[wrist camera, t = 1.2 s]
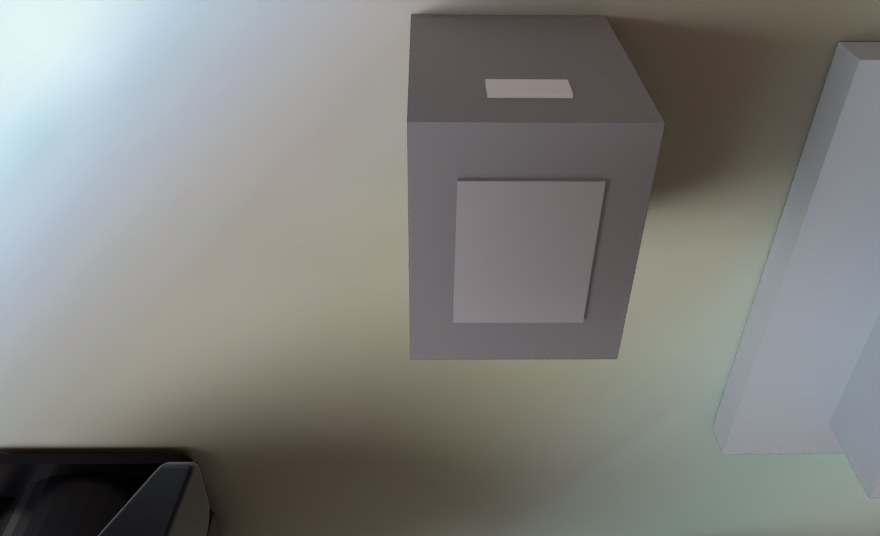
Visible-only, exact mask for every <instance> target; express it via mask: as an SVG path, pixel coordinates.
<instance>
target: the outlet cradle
mask: <svg viewBox="0 0 880 536" xmlns="http://www.w3.org/2000/svg"><path fill="white" fill-rule="evenodd" d="M712 429H713V431H714V434H715V437H716V439H717V442H718V444H719V447H720V449H721V452H722V454H835V453H845V455H846V457H847V459H848V461H849V463H850V464H851V466H852V468H853V470H854V472H855V473H856V475H857V477H858V479H859V481H860V483H861V484H862V486H863V488H864V490H865V492H866V493H867V495H868V497H869V498H880V42H838V45H837V48H836V51H835V54H834V57H833V60H832V63H831V66H830V69H829V72H828V75H827V78H826V81H825V84H824V87H823V90H822V94H821V97H820V100H819V103H818V106H817V109H816V112H815V115H814V118H813V121H812V124H811V127H810V130H809V133H808V136H807V139H806V143H805V146H804V149H803V152H802V155H801V158H800V161H799V164H798V167H797V170H796V173H795V176H794V179H793V182H792V185H791V188H790V191H789V195H788V198H787V201H786V204H785V207H784V210H783V213H782V216H781V219H780V222H779V225H778V228H777V231H776V234H775V237H774V240H773V244H772V247H771V250H770V253H769V256H768V259H767V262H766V265H765V268H764V271H763V274H762V277H761V280H760V283H759V286H758V289H757V293H756V296H755V299H754V302H753V305H752V308H751V311H750V314H749V317H748V320H747V323H746V326H745V329H744V332H743V335H742V338H741V341H740V345H739V348H738V351H737V354H736V357H735V360H734V363H733V366H732V369H731V372H730V375H729V378H728V381H727V384H726V387H725V390H724V394H723V397H722V400H721V403H720V406H719V409H718V412H717V415H716V418H715V421H714V424H713V427H712Z"/></svg>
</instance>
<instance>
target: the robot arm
mask: <svg viewBox="0 0 880 536" xmlns="http://www.w3.org/2000/svg"><path fill="white" fill-rule="evenodd" d="M0 536H220V532H219V528H218V525H217V521H216V517H215V513H214V512H213V511H212V509H211V508H210V507H209V502H208V498H207V494H206V490H205V486H204V483H203V479H202V475H201V471H200V468H199V466H198V465H197V464H196V463H194V462H193V460H192V459H191V458H190V457H188V456H187V455H184V454H181V453H57V454H0Z"/></svg>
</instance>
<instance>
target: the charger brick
mask: <svg viewBox="0 0 880 536" xmlns="http://www.w3.org/2000/svg"><path fill="white" fill-rule="evenodd" d="M664 126H665V122H664V120H663V119H662V117H661V115H660V113H659V111H658V110H657V108H656V106H655V104H654V102H653V101H652V99H651V97H650V95H649V93H648V92H647V90H646V88H645V86H644V84H643V83H642V81H641V79H640V77H639V75H638V74H637V72H636V70H635V68H634V66H633V65H632V63H631V61H630V59H629V58H628V56H627V54H626V52H625V50H624V49H623V47H622V45H621V43H620V41H619V40H618V38H617V36H616V34H615V32H614V31H613V29H612V27H611V25H610V23H609V22H608V20H607V18H606V16H549V15H411V30H410V57H409V85H408V112H407V150H408V224H409V299H410V360H495V359H617V358H618V353H619V348H620V343H621V338H622V333H623V328H624V323H625V318H626V313H627V308H628V303H629V298H630V293H631V289H632V284H633V279H634V274H635V269H636V264H637V259H638V254H639V249H640V244H641V239H642V234H643V229H644V225H645V220H646V215H647V210H648V205H649V200H650V195H651V190H652V185H653V180H654V175H655V170H656V165H657V161H658V156H659V151H660V146H661V141H662V136H663V131H664Z"/></svg>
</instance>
